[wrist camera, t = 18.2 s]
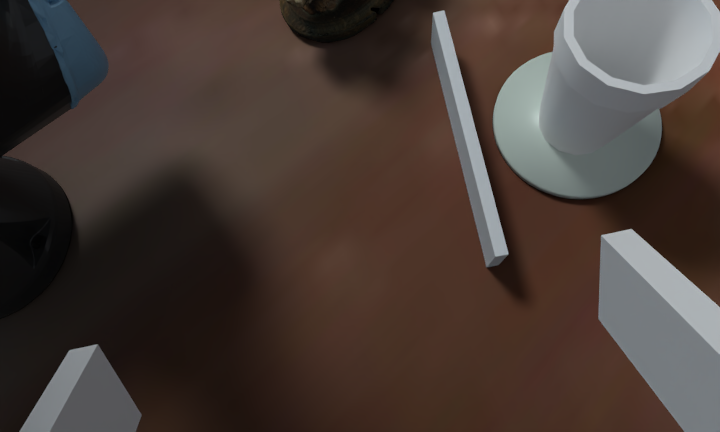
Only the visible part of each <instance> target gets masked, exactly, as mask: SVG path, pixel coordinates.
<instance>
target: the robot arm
mask: <svg viewBox="0 0 720 432" xmlns="http://www.w3.org/2000/svg"><path fill="white" fill-rule="evenodd" d="M107 73H108V60H107V57H106V55H105V53H104V51H103V50H102V48H101V47H100V45H99V44H98V42H97V41H96V40H95V38H94V37H93V35H92V34H91V33H90V31H89V30H88V29H87V27H86V26H85V24H84V23H83V22H82V20H81V19H80V18H79V16H78V15H77V14H76V12H75V11H74V9H73V8H72V7H71V5H70V4H69V3H68V1H67V0H0V318H2V317H5V316H7V315H10V314H12V313H14V312H16V311H18V310H19V309H21V308H23V307H24V306H26V305H27V304H28V303H30V302H31V301H32V300H34V299H35V298H36V297H37V296H38V295H39V294H40V293H41V292H42V291H43V290H44V289H45V288H46V287H47V286H48V284H49V283H50V282H51V281H52V279H53V278H54V276H55V275H56V273H57V272H58V270H59V268H60V266H61V264H62V262H63V260H64V258H65V255H66V253H67V249H68V246H69V242H70V237H71V225H72V222H71V212H70V207H69V203H68V200H67V198H66V196H65V194H64V192H63V190H62V188H61V187H60V186H59V184H58V183H57V182H56V181H55V180H54V179H53V178H52V177H51V176H50V175H48V174H47V173H45V172H44V171H42V170H40V169H38V168H36V167H34V166H32V165H30V164H28V163H26V162H24V161H21V160H19V159H15V158H12V157H7V156H2V155H4V154H5V153H7V152H8V151H10V150H11V149H12V148H14V147H15V146H17V145H18V144H20V143H21V142H23V141H24V140H26V139H27V138H29V137H30V136H32V135H33V134H35V133H36V132H37V131H39V130H40V129H42V128H43V127H45V126H46V125H48V124H49V123H51V122H52V121H54V120H55V119H57V118H58V117H59V116H61V115H62V114H64V113H65V112H67V111H68V110H70V109H73V108H75V107H76V106H77V105H78V103H79V100H81V99H82V98H83V97H84V96H85V95H87V94H88V93H89V92H90V91H92V90H93V89H94V88H95V87H97V86H98V85H99V84H100V83H101V82H102V81H103V80H104V79H105V77H106V75H107ZM598 319H599V320H600V321H601V323H602V324H603V325H604V327H605V328H606V329H607V331H608V332H609V333H610V335H611V336H612V337H613V339H614V340H615V341H616V342H617V344H618V345H619V346H620V348H621V349H622V350H623V352H624V353H625V354H626V356H627V357H628V358H629V360H630V361H631V362H632V363H633V365H634V366H635V367H636V369H637V370H638V371H639V373H640V374H641V375H642V377H643V378H644V379H645V381H646V382H647V383H648V384H649V386H650V387H651V388H652V390H653V391H654V392H655V394H656V395H657V396H658V398H659V399H660V400H661V402H662V403H663V404H664V405H665V407H666V408H667V409H668V411H669V412H670V413H671V415H672V416H673V417H674V419H675V420H676V421H677V423H678V424H679V425H680V426H681V428H682V429H683V430H684V432H720V307H719V306H718V305H717V304H715V303H714V302H713V301H712V300H711V299H710V298H709V297H708V296H706V295H705V294H704V293H703V292H702V291H701V290H700V289H699V288H697V287H696V286H695V285H694V284H693V283H692V282H691V281H690V280H688V279H687V278H686V277H685V276H684V275H683V274H682V273H681V272H679V271H678V270H677V269H676V268H675V267H674V266H673V265H672V264H670V263H669V262H668V261H667V260H666V259H665V258H664V257H663V256H661V255H660V254H659V253H658V252H657V251H656V250H655V249H654V248H652V247H651V246H650V245H649V244H648V243H647V242H646V241H645V240H643V239H642V238H641V237H640V236H639V235H638V234H637V233H636V232H634V231H633V230H632V229H628V230H624V231H619V232H615V233H610V234H605V235H601V256H600V286H599V317H598ZM141 416H142V415H141V413H140V411H139V410H138V408H137V407H136V405H135V403H134V402H133V400H132V399H131V397H130V395H129V394H128V392H127V390H126V389H125V387H124V386H123V384H122V382H121V381H120V379H119V378H118V376H117V374H116V373H115V371H114V369H113V368H112V366H111V365H110V363H109V361H108V360H107V358H106V357H105V355H104V353H103V352H102V350H101V348H100V347H99V345H98V344H96V345H91V346H87V347H82V348H77V349H73V350H69V352H68V353H67V355H66V357H65V358H64V360H63V361H62V363H61V365H60V366H59V368H58V370H57V371H56V373H55V374H54V376H53V378H52V379H51V381H50V383H49V384H48V386H47V387H46V389H45V391H44V392H43V394H42V396H41V397H40V399H39V400H38V402H37V404H36V405H35V407H34V409H33V410H32V412H31V414H30V415H29V417H28V418H27V420H26V422H25V423H24V425H23V427H22V428H21V430H20V431H19V432H136V429H137V426H138V424H139V421H140V418H141Z"/></svg>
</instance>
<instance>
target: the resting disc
mask: <svg viewBox="0 0 720 432" xmlns="http://www.w3.org/2000/svg"><path fill="white" fill-rule="evenodd" d="M551 57H552V52H550V53H546V54H543V55H541V56H538V57H536V58H534V59H532V60H529V61H528V62H526V63H525V64H523V65H522V66H520V67H519V68H518V69H517V70H516V71H514V72H513V74H512V75H511V76H510V77H509V78H508V79H507V81H506V82H505V84H504V85H503V86H502V88H501V90H500V93H499V95H498V97H497V101H496V104H495V107H494V112H493V134H494V138H495V142H496V145H497V147H498V150H499V152H500V154H501V156H502V157H503V159H504V161H505V162H506V163H507V165H508V166H509V167H510V168H511V170H512V171H513V172H514V173H515V174H516V175H518V176H519V177H520V178H521V179H522V180H524V181H525V182H526V183H528V184H529V185H531V186H533V187H534V188H536V189H538V190H540V191H543V192H545V193H547V194H550V195H554V196H557V197H562V198H568V199H593V198H598V197H603V196H606V195H609V194H612V193H615V192H617V191H619V190H621V189H623V188H625V187H626V186H628V185H629V184H631V183H632V182H633V181H635V180H636V179H637V178H638V177H639V176H640V175H641V174H642V173H644V171H645V170H646V169H647V168H648V167H649V165H650V164H651V162H652V161H653V159H654V157H655V156H656V153H657V151H658V148H659V145H660V141H661V134H662V122H661V115H660V111H659V109H656V110H655V111H654V112H652V113H651V114H649V115H648V116H646V117H645V118H643V119H642V120H641V121H639V122H638V123H636V124H635V125H633V126H632V127H630V128H629V129H628V130H626V131H625V132H623V133H622V134H620V135H619V136H617V137H616V138H615V139H613V140H612V141H610V142H609V143H607V144H606V145H604V146H602V147H601V148H599V149H598V150H596V151H595V152H593V153H588V154H581V155H573V154H569V153H565V152H562V151H558V150H557V149H556V148H555V147H553V146H552V145H551V144H550V143H548V142H547V141H546V140H545V138H544V136H543V134H542V132H541V130H540V128H539V111H540V104H541V100H542V96H543V91H544V87H545V83H546V78H547V74H548V70H549V65H550V61H551Z"/></svg>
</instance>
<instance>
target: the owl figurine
mask: <svg viewBox="0 0 720 432" xmlns="http://www.w3.org/2000/svg"><path fill="white" fill-rule="evenodd" d="M279 1H280V7H281V11H282V15H283V18H284V19H285V21H286V22H287V24H288V25H289V26H290V28H291V30H292V31H293V32H295V33H298V34H299V35H301V36H304V37H306V38H310V39H313V40H316V41H318V42H333V41H338V40H342V39H346V38H349V37H351V36H353V35H355V34H357V33H359V32H360V31H362V30H363V29H364V28H365V27H366V26H368V25H369V24H371V23H373V22H374V21H375V20H376V17H377V16H376V13H375V12H374V11H371V8H373V7H374V8H380V9H379V12H378V14H382V13H383V12H384V11H385V10H386V9H387V8H388V7H389V6H390V4H391V3H392V2H393V0H279Z"/></svg>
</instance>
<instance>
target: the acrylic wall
mask: <svg viewBox="0 0 720 432" xmlns="http://www.w3.org/2000/svg"><path fill="white" fill-rule="evenodd" d="M431 46H432V50H433V54H434V58H435V62H436V66H437V70H438V74H439V78H440V82H441V86H442V90H443V94H444V98H445V102H446V106H447V110H448V114H449V118H450V122H451V126H452V130H453V134H454V138H455V142H456V146H457V150H458V154H459V158H460V162H461V166H462V170H463V175H464V179H465V183H466V187H467V191H468V195H469V199H470V203H471V207H472V211H473V215H474V219H475V223H476V227H477V231H478V235H479V239H480V243H481V247H482V251H483V255H484V259H485V263H486V267H491V266H496V265H499V264H500V263H501V262H502V261H503V260H504V259H505V258H506V257H507V255H508V250H507V246H506V242H505V239H504V235H503V231H502V227H501V223H500V220H499V216H498V212H497V208H496V204H495V201H494V197H493V193H492V189H491V185H490V182H489V178H488V174H487V170H486V167H485V163H484V159H483V155H482V151H481V148H480V144H479V140H478V136H477V132H476V129H475V125H474V121H473V117H472V113H471V110H470V106H469V102H468V98H467V95H466V91H465V87H464V83H463V79H462V76H461V72H460V68H459V64H458V60H457V57H456V53H455V49H454V45H453V42H452V38H451V34H450V30H449V26H448V23H447V19H446V15H445V11H439V12H434V13H433V20H432V36H431Z"/></svg>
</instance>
